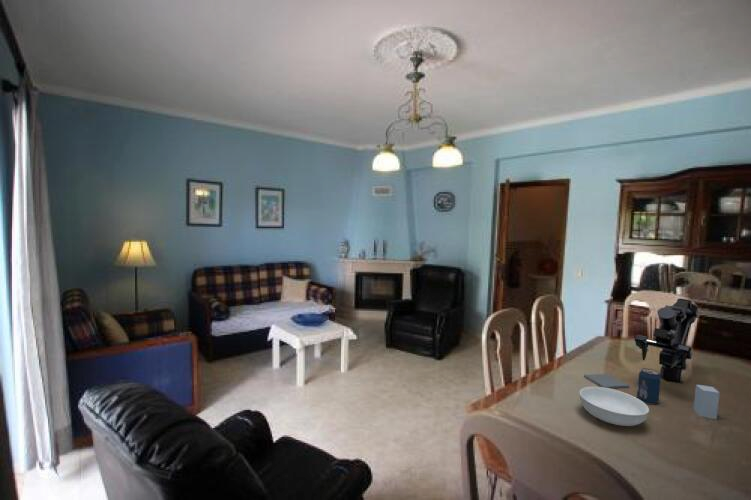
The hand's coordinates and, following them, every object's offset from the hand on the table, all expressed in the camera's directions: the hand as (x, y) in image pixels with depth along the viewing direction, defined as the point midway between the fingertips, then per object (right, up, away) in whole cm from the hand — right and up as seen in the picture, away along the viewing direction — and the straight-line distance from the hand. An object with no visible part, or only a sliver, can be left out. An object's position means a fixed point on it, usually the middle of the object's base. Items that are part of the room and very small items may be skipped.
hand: (656, 363), depth 152 cm
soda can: (-7, -14, -4) cm, 16 cm away
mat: (-13, -12, +12) cm, 21 cm away
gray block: (+8, -15, -13) cm, 21 cm away
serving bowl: (-30, -14, -18) cm, 37 cm away
